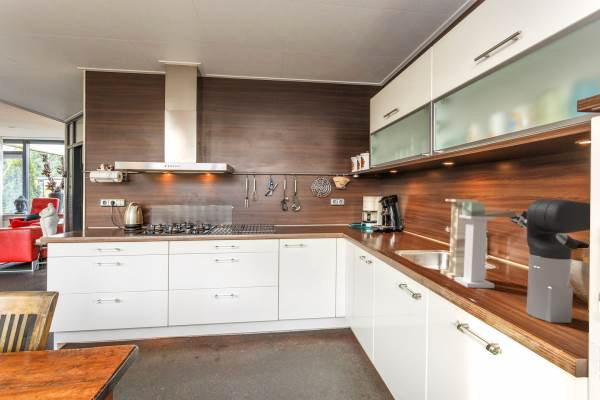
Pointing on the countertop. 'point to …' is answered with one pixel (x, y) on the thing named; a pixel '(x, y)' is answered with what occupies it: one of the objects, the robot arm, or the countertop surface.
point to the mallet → (480, 211)
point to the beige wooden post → (457, 240)
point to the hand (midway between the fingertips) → (513, 212)
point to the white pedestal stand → (475, 253)
